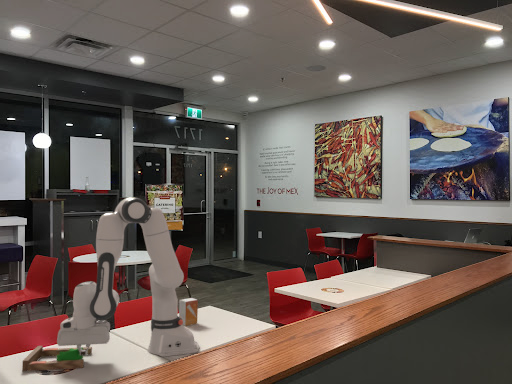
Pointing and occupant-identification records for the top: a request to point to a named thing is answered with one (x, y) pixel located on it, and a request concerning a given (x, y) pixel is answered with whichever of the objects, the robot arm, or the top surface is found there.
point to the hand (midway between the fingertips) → (83, 355)
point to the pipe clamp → (69, 355)
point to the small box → (188, 311)
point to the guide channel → (33, 365)
